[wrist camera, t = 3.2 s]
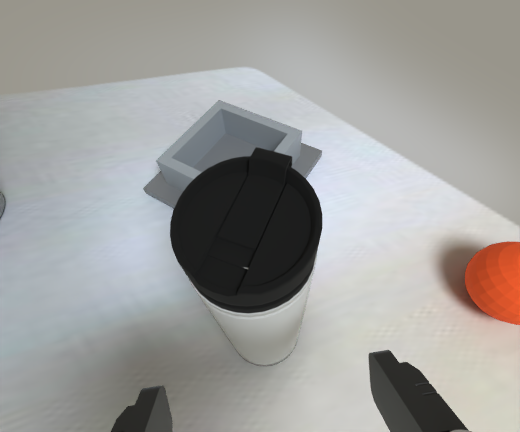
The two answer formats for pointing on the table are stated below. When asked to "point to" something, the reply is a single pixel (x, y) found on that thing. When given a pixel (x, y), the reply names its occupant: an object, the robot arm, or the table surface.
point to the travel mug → (251, 249)
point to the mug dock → (225, 148)
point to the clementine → (496, 281)
